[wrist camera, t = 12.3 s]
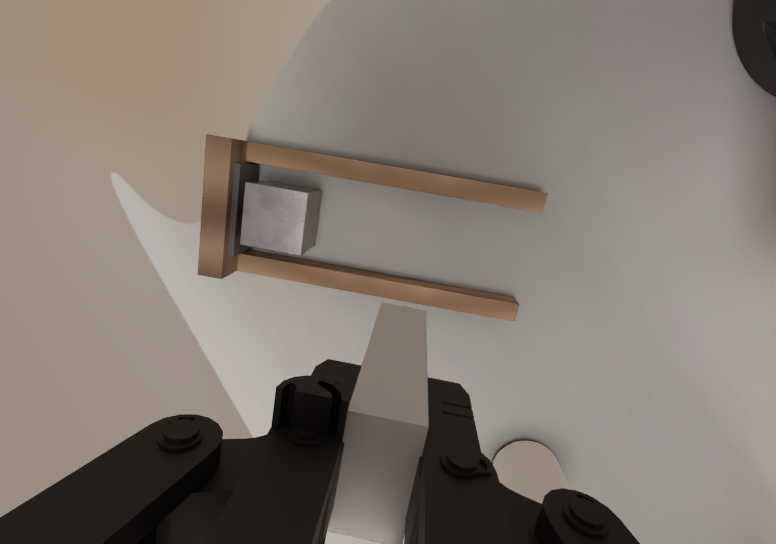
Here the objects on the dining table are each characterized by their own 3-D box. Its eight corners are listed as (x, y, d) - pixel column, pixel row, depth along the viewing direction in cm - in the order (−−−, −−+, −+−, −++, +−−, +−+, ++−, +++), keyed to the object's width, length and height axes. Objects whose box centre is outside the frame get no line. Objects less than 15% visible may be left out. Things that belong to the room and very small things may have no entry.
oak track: (234, 139, 37) (206, 134, 32) (540, 191, 36) (559, 195, 31) (225, 262, 40) (197, 274, 35) (510, 313, 39) (522, 334, 34)
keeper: (267, 180, 38) (245, 182, 33) (322, 190, 38) (308, 193, 33) (262, 235, 39) (240, 244, 34) (315, 245, 39) (300, 255, 34)
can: (538, 427, 41) (585, 527, 30) (567, 478, 42) (623, 594, 31) (479, 454, 42) (501, 560, 31) (509, 502, 44) (541, 623, 32)
